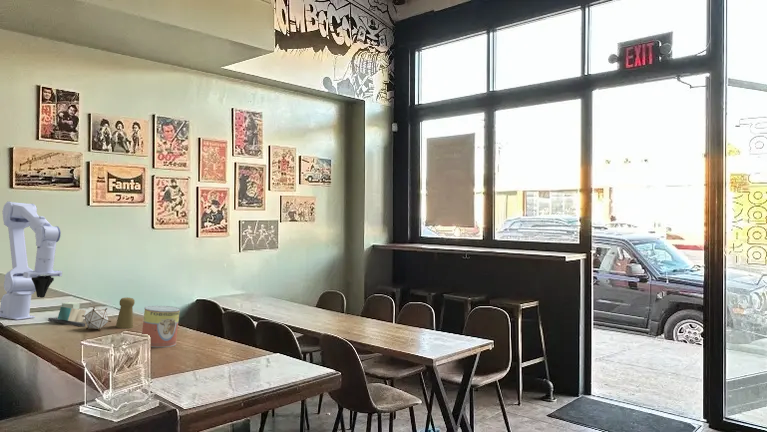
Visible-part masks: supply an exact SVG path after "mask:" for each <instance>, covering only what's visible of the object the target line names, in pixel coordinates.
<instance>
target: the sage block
mask: <svg viewBox="0 0 767 432" xmlns="http://www.w3.org/2000/svg"><path fill="white" fill-rule="evenodd" d="M61 307H66V308H73V309H79V310H80V307H81V303H80V302H75V301H74V302H73V301H65V302H61Z"/></svg>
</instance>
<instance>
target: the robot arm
mask: <svg viewBox="0 0 767 432" xmlns="http://www.w3.org/2000/svg"><path fill="white" fill-rule="evenodd" d="M37 210H38V209H37V206H36V204H35V203H27V202H15V201H6V202H5V203H4V205H3V208H2V221H3V225H5V226H6V227H7V228H8V238H9V248H10V249H9V250H10V256H11V257H10V258H11V266H12V269H10V270H8V271H7V272H6V273H5V275H4V282H3V288H4V291H5V292H6V293H5V294H3V296H2V297H1V300H0V318H3V319H10V320H13V321H14V320H16V321H17V320H18V321H19V320H24V319H26V320H27V319H33V318H35V317H36V316H35V315H30V310H31V302H32V301H31V300H32V295H34V293H36V297H37V298H39V299H40V298H45V297H46V294H47V292H48V290H49V288H50V286H51V284H52V283H53V282H54V280H55V277H62V276H63V270H54V266H55V265H54V264H55V257H56V248H57V243H58V242H59V241H60V239H61V237H62V236H61V235H62V234H61V233H62V231H61V229H60V227H59V226H57V225H56V226H53V225H52V223H50V222H49V221H48V220H47V219H46V216H44V215H39V214H38V211H37ZM28 227H29V228H30V229H31V230H32V231H33V232H34V233H35V236H34V237H35V246H36V252H35V253H36V256H35V262H34V269H32V268H31V267H29V262H28V255H27V246H26V238H25V229H26V228H28Z"/></svg>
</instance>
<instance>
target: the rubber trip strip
mask: <svg viewBox="0 0 767 432" xmlns="http://www.w3.org/2000/svg"><path fill="white" fill-rule="evenodd" d="M57 318H58V317H56V318H55V317H48V320H47V321H48V322H54V323H60V324H64V325H65V324H66V325H73V326H77V327H86V322H75V321H67V320H61V319H57Z"/></svg>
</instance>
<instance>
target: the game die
mask: <svg viewBox="0 0 767 432" xmlns="http://www.w3.org/2000/svg"><path fill="white" fill-rule="evenodd" d="M107 310H108V307H105V309H102V308H96V306H93V308H92V309H91V310H90V311H89V312H87V314H86V313H85V315H83V317H84V320H85V325H86V326H87V327H86V330H89V329H95V330H98V331H99V332H101V328H103V327H104V326H105V325H107V324H108V323H111V322H112V320H109V316H108V313H107Z"/></svg>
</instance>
